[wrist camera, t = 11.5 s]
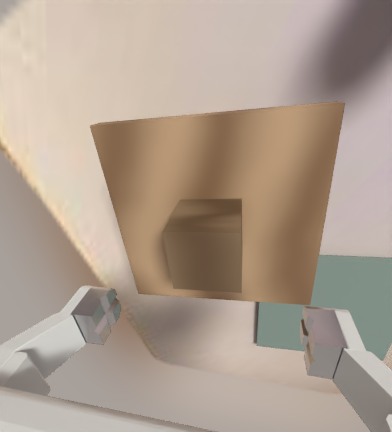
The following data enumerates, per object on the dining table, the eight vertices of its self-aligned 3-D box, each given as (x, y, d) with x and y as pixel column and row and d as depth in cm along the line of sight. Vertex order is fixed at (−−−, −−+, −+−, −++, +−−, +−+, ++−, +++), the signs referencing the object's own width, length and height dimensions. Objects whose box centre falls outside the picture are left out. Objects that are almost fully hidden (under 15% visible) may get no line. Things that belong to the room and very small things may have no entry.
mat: (423, 259, 25) (428, 264, 24) (380, 354, 32) (383, 360, 32) (261, 252, 28) (261, 256, 27) (256, 340, 35) (256, 345, 35)
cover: (337, 101, 13) (385, 112, 8) (306, 293, 19) (324, 356, 15) (99, 122, 16) (41, 139, 11) (143, 283, 22) (117, 334, 18)
